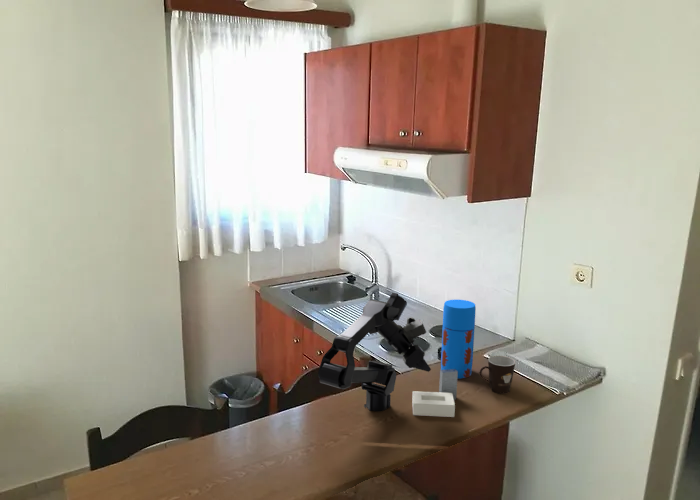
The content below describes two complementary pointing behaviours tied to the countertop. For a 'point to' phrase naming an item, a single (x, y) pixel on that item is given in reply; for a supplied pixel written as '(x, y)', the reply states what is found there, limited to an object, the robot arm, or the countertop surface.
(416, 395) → the slot box
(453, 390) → the grey rectangular block
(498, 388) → the coffee mug
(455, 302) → the thermos
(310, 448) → the countertop surface
